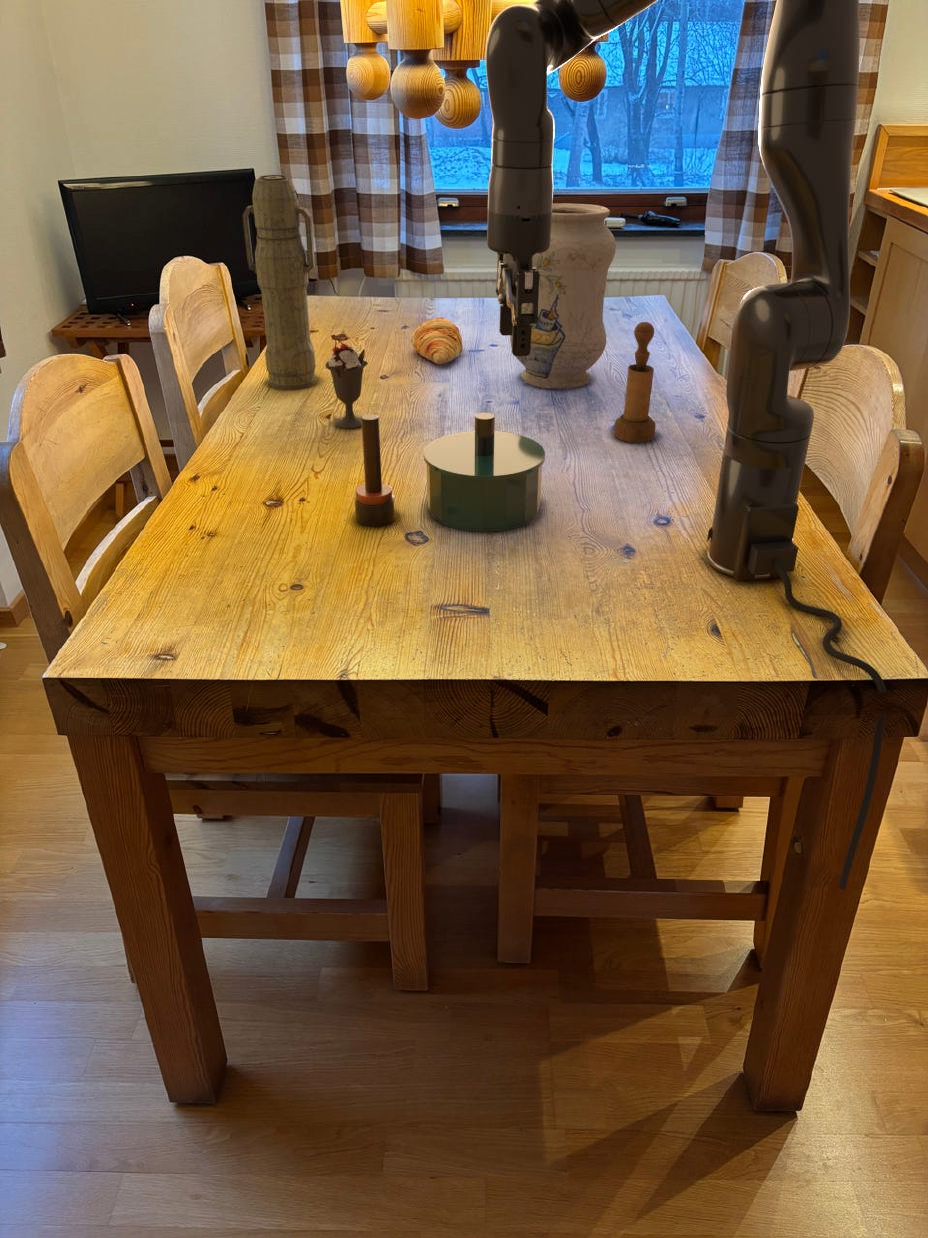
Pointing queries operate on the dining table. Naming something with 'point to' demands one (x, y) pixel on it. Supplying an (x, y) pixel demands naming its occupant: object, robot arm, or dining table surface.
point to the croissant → (437, 340)
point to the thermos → (283, 279)
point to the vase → (570, 298)
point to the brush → (373, 480)
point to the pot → (483, 501)
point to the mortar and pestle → (638, 393)
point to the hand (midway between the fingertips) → (514, 344)
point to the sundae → (347, 380)
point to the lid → (484, 453)
